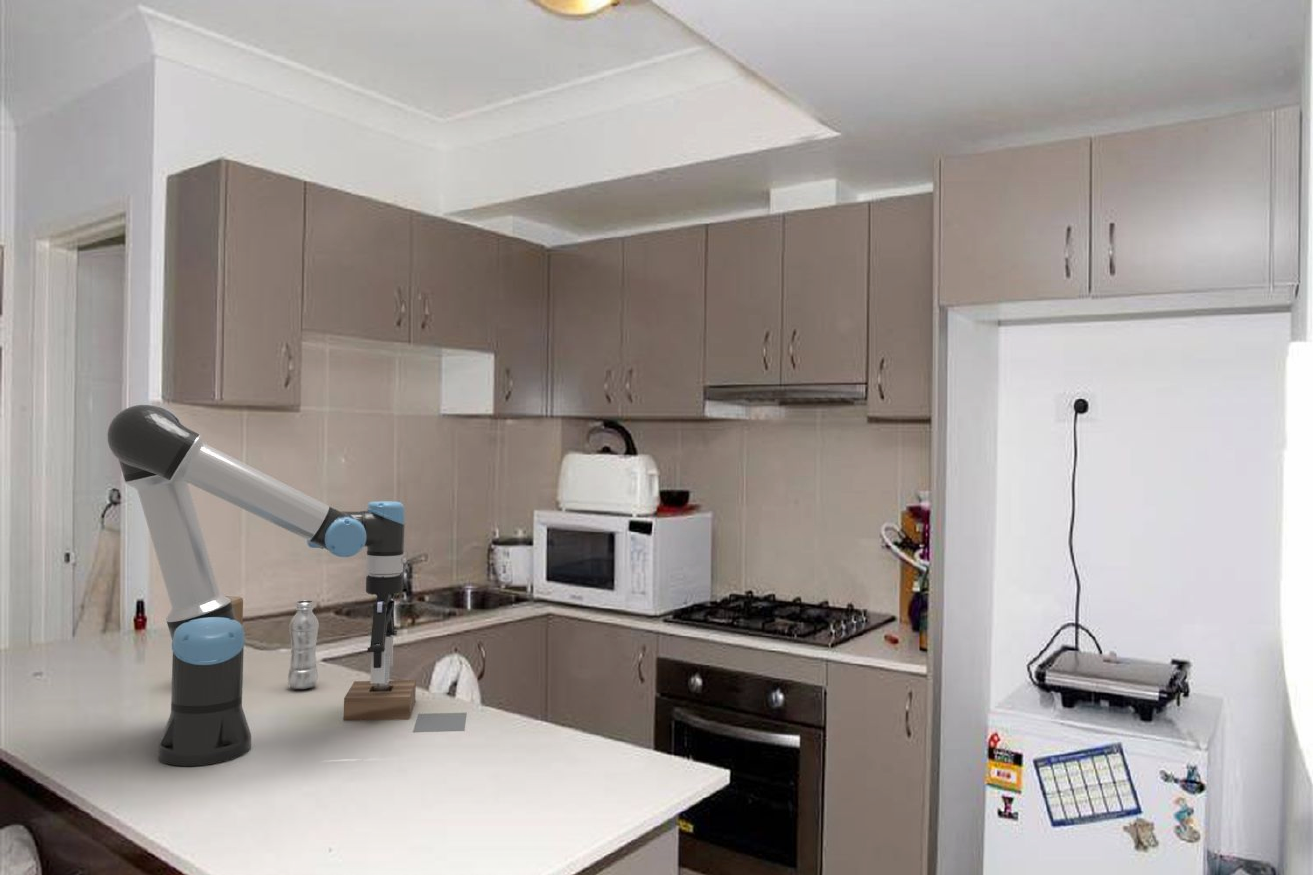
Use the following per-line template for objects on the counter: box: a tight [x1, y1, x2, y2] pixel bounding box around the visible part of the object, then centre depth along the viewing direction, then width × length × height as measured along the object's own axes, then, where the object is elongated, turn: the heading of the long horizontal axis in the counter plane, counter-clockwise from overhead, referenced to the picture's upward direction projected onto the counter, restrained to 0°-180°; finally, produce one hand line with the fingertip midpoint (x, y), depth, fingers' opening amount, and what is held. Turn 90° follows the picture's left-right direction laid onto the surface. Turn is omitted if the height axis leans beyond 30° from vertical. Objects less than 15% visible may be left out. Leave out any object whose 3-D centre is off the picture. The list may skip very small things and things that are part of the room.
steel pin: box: [374, 654, 391, 692], centre depth 190 cm, size 3×3×12 cm
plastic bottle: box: [287, 599, 320, 690], centre depth 206 cm, size 6×7×20 cm
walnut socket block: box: [343, 679, 417, 722], centre depth 190 cm, size 13×13×5 cm
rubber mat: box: [412, 712, 468, 733], centre depth 183 cm, size 12×10×1 cm
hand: (381, 674), depth 190 cm, fingers open, 13 cm apart
